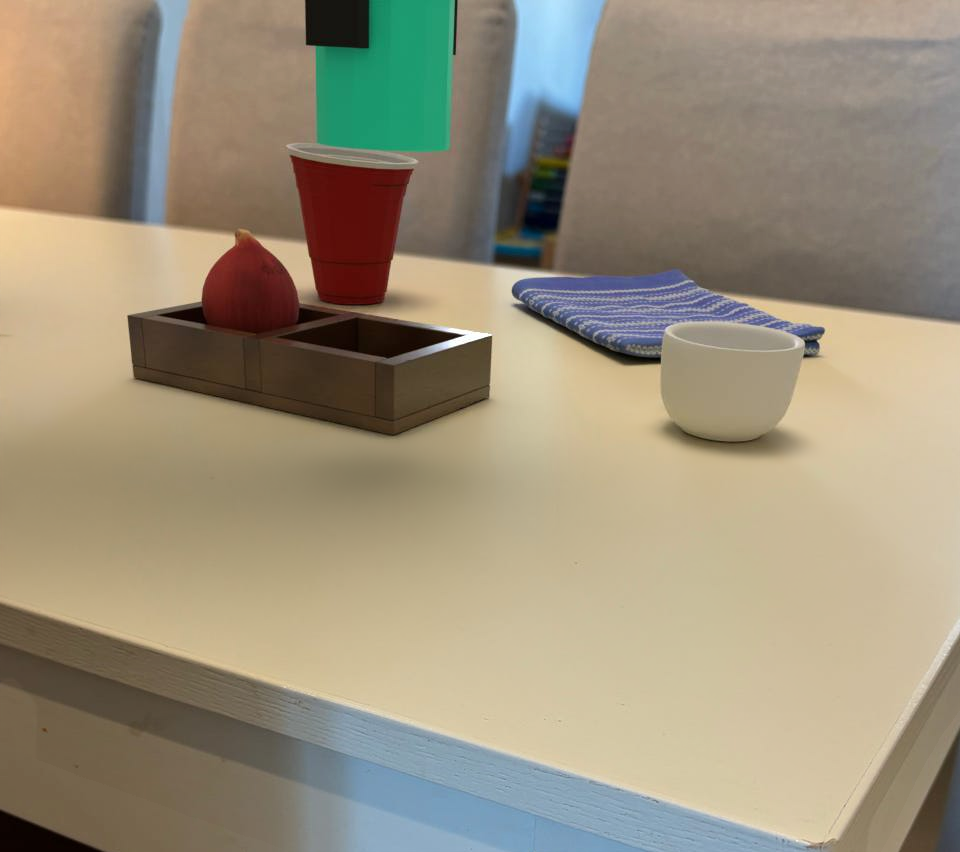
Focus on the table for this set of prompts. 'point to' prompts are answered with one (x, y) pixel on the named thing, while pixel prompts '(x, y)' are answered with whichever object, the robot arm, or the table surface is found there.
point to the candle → (390, 81)
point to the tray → (319, 364)
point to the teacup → (728, 378)
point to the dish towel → (642, 309)
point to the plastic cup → (350, 217)
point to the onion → (249, 289)
